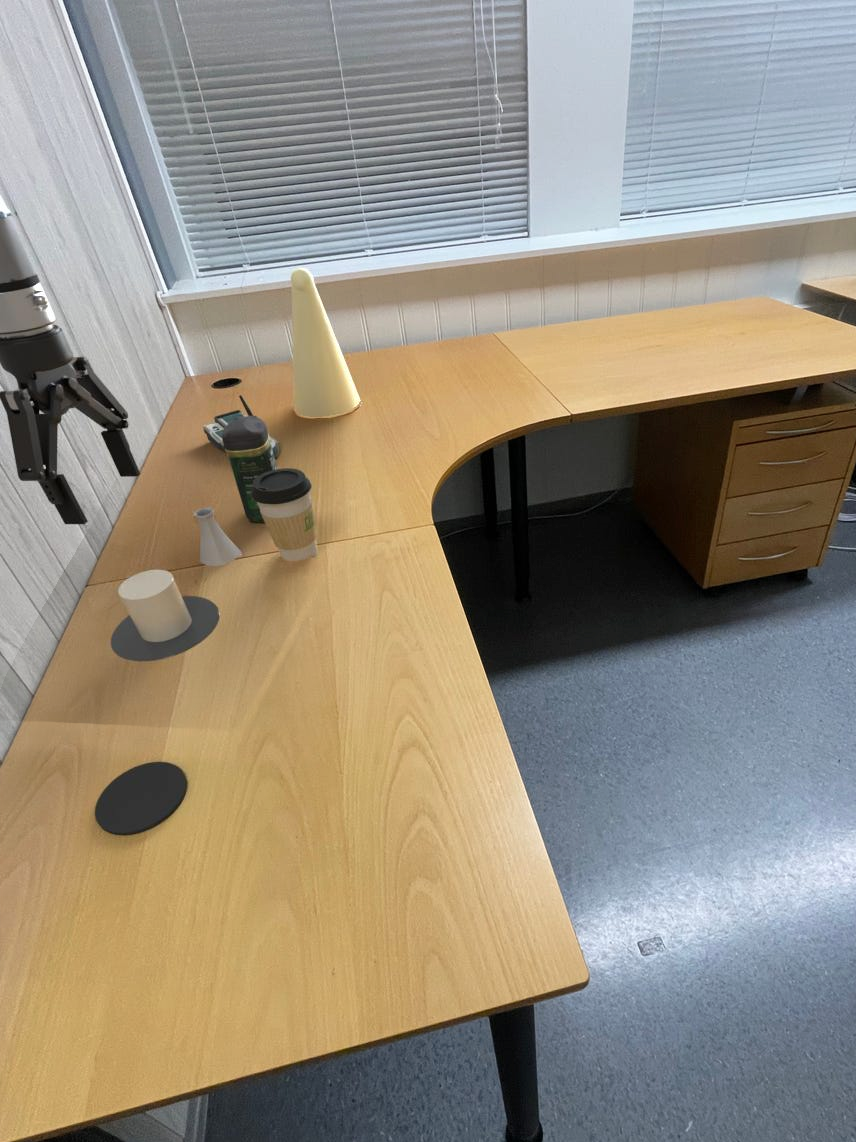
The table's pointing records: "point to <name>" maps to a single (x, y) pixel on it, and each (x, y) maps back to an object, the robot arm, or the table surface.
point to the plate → (137, 649)
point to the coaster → (140, 798)
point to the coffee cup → (287, 511)
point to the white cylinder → (155, 605)
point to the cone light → (317, 355)
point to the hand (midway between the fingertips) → (105, 498)
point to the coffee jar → (248, 458)
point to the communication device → (223, 420)
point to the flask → (214, 540)
